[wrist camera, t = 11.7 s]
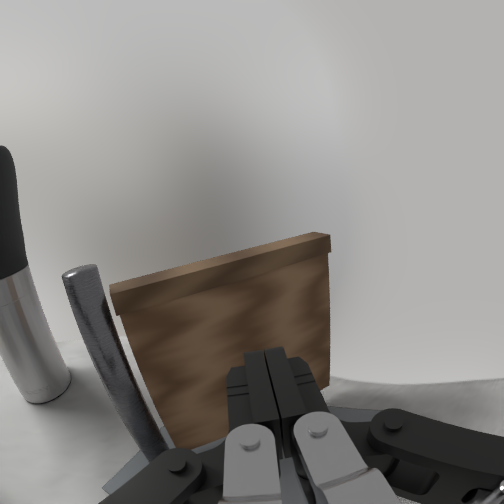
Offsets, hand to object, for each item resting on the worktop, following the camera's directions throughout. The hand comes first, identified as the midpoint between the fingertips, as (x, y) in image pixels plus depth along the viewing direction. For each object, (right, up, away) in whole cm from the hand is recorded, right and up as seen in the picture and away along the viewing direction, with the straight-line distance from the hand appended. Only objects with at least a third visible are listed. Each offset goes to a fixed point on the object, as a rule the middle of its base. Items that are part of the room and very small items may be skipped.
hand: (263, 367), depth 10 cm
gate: (0, -11, +13) cm, 17 cm away
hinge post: (-8, -15, +9) cm, 19 cm away
